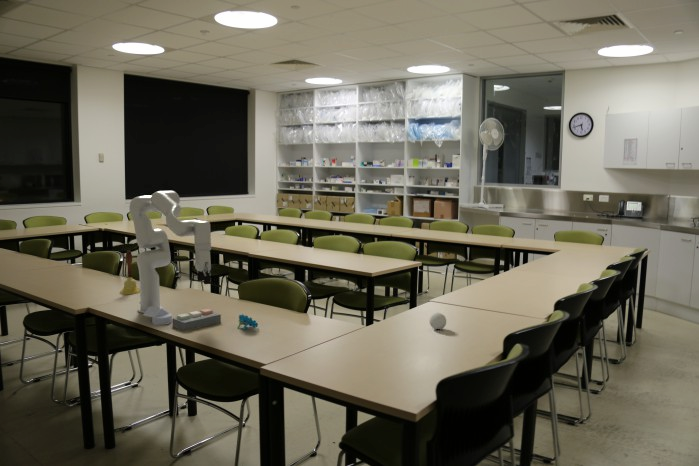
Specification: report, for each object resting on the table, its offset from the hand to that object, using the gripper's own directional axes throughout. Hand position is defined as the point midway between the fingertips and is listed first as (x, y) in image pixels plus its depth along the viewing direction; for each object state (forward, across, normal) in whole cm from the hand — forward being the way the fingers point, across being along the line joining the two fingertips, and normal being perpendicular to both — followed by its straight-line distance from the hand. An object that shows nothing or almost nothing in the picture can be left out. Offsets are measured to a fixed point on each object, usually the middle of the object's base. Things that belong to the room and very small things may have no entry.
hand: (204, 282), depth 261 cm
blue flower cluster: (+21, +18, +14) cm, 31 cm away
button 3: (+18, -3, +2) cm, 18 cm away
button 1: (+18, 0, -10) cm, 21 cm away
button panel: (+20, 0, -4) cm, 21 cm away
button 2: (+18, -2, -4) cm, 18 cm away
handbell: (+19, -86, -18) cm, 90 cm away
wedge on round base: (+20, -15, -18) cm, 31 cm away
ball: (+22, +64, +91) cm, 114 cm away
